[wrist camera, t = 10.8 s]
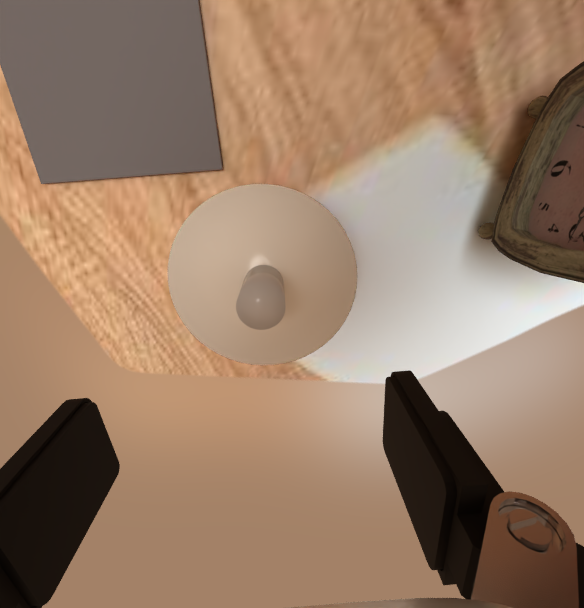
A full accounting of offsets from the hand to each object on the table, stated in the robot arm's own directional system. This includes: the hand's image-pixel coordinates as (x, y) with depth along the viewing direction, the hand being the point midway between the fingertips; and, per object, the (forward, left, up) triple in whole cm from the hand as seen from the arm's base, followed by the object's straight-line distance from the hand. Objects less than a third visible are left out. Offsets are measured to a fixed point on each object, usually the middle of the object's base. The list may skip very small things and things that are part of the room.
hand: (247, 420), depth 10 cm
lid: (0, 0, -17) cm, 17 cm away
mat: (+11, -17, -23) cm, 30 cm away
